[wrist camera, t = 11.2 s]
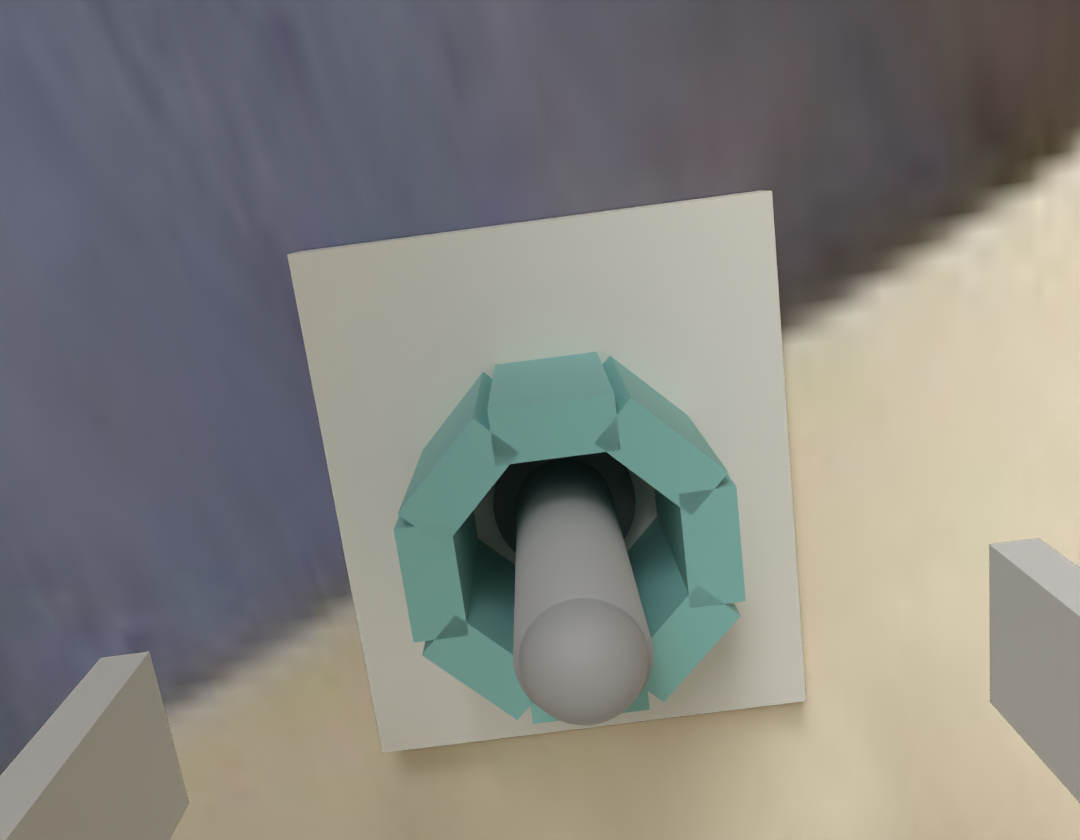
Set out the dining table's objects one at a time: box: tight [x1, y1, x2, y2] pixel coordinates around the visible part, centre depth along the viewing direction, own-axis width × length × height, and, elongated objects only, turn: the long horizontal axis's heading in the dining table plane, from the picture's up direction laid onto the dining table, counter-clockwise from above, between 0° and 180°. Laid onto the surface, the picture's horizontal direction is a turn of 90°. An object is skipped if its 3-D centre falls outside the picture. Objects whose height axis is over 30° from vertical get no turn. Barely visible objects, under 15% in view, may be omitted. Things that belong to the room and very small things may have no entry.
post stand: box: [287, 191, 806, 753], centre depth 20 cm, size 14×12×11 cm
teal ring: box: [394, 352, 746, 724], centre depth 22 cm, size 7×7×5 cm
